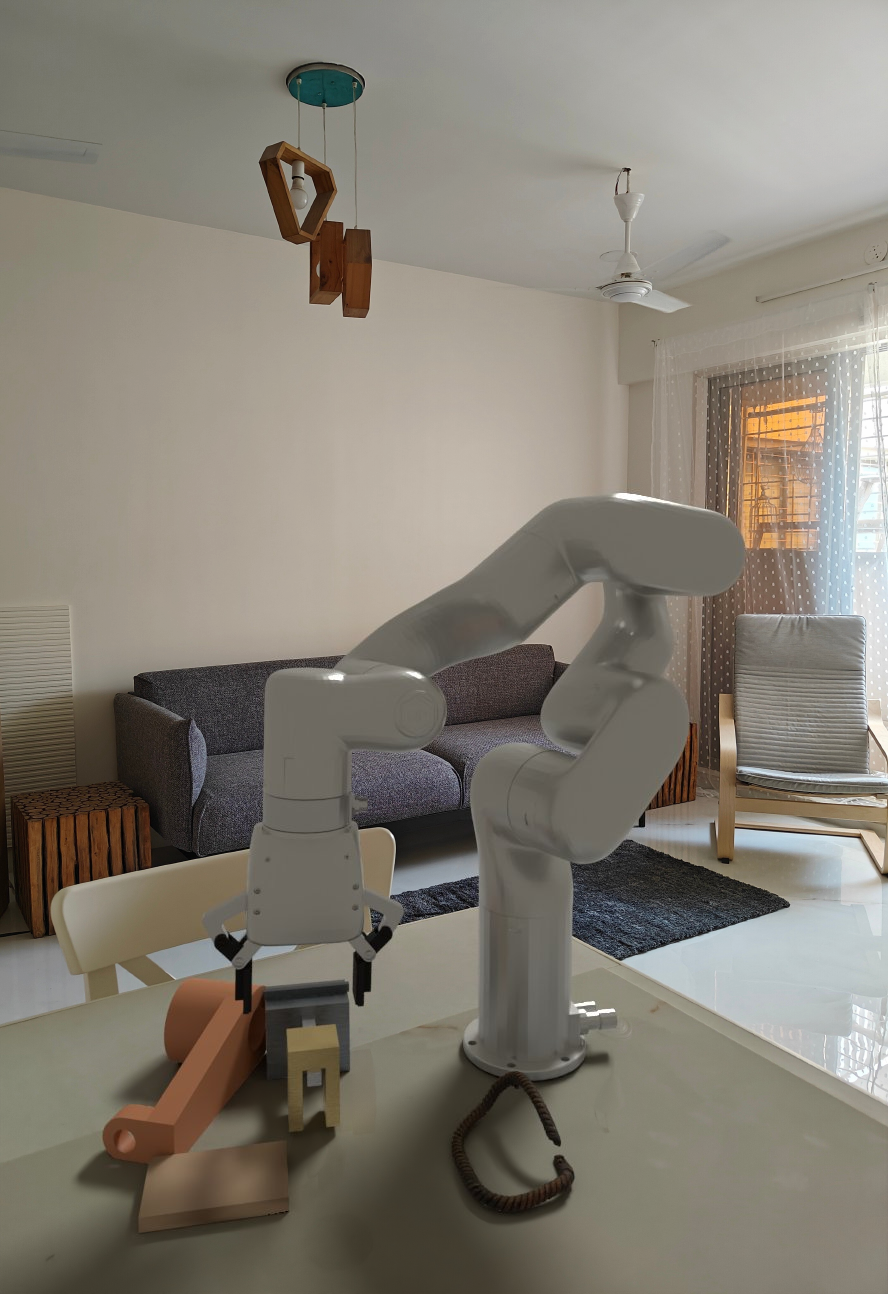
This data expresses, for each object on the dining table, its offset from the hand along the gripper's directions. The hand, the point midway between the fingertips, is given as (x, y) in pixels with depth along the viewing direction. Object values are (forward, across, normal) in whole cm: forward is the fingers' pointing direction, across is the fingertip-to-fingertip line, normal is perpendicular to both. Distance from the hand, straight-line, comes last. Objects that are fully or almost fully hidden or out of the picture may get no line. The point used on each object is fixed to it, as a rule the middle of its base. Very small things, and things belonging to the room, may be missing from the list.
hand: (303, 1003), depth 78 cm
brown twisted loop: (+11, -17, +8) cm, 22 cm away
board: (+12, +7, +7) cm, 15 cm away
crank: (+12, +10, -7) cm, 17 cm away
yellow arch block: (+11, -1, 0) cm, 11 cm away
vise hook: (+11, -1, -6) cm, 13 cm away
